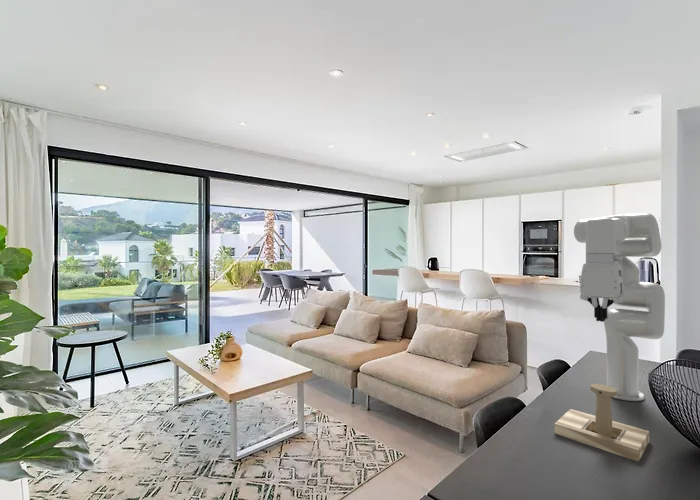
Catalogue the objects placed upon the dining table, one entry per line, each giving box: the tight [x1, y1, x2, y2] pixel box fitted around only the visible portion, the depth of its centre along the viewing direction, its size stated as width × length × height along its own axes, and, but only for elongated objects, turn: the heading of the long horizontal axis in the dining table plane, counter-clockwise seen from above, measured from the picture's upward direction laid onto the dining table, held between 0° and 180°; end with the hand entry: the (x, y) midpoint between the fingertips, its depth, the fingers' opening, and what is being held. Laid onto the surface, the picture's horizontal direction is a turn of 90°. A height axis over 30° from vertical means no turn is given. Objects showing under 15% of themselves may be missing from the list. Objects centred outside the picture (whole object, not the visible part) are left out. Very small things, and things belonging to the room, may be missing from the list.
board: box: [554, 408, 650, 462], centre depth 108 cm, size 14×20×3 cm
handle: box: [589, 383, 617, 438], centre depth 106 cm, size 5×6×15 cm
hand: (600, 320), depth 111 cm, fingers closed
